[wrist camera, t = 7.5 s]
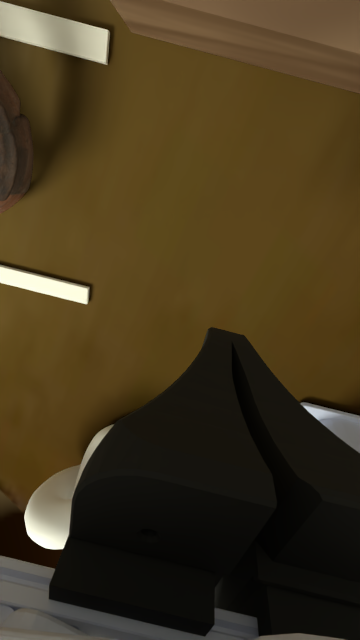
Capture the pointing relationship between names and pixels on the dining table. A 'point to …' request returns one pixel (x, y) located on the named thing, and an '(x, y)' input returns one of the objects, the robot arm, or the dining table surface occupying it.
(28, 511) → the white knot
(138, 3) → the walnut screen
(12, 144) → the brown curved piece
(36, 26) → the bay outline
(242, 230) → the dining table surface
